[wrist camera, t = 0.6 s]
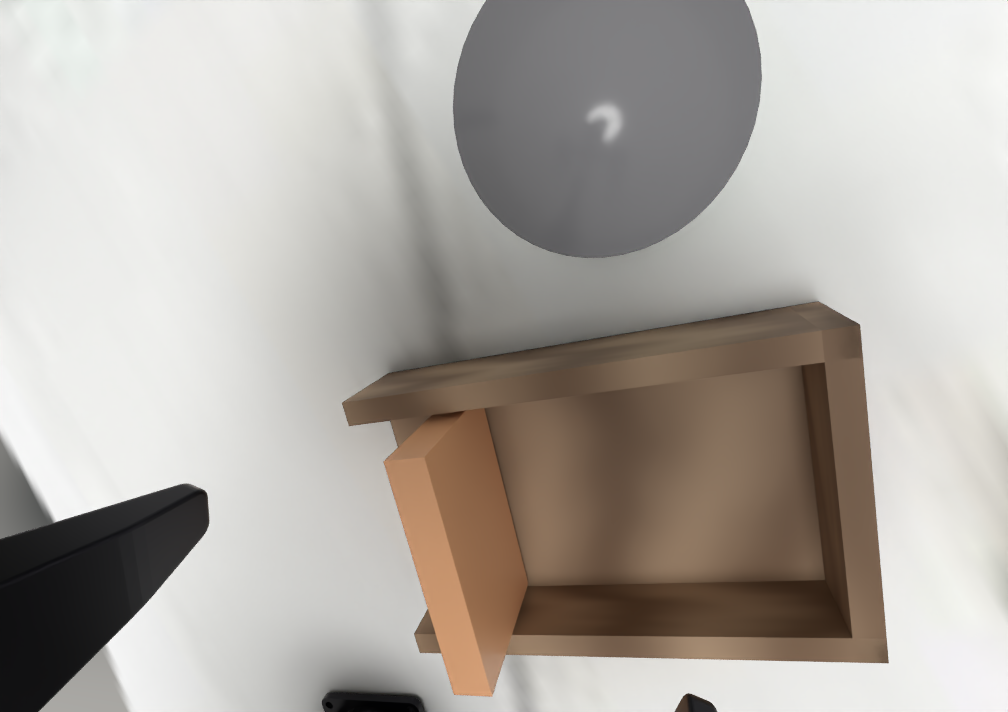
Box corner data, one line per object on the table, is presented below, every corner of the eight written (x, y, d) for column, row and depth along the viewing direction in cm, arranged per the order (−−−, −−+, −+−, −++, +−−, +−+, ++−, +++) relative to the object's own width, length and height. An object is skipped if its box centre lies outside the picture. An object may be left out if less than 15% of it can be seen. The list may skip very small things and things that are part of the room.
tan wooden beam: (498, 584, 25) (454, 694, 19) (448, 398, 23) (383, 461, 17) (528, 583, 24) (492, 696, 19) (480, 393, 22) (424, 456, 17)
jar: (552, 252, 21) (489, 282, 13) (518, 84, 20) (421, -7, 11) (722, 214, 19) (779, 221, 11) (696, 25, 18) (738, -137, 9)
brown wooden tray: (451, 591, 27) (420, 652, 23) (388, 373, 24) (341, 403, 21) (847, 584, 21) (888, 663, 18) (818, 301, 19) (860, 324, 15)
